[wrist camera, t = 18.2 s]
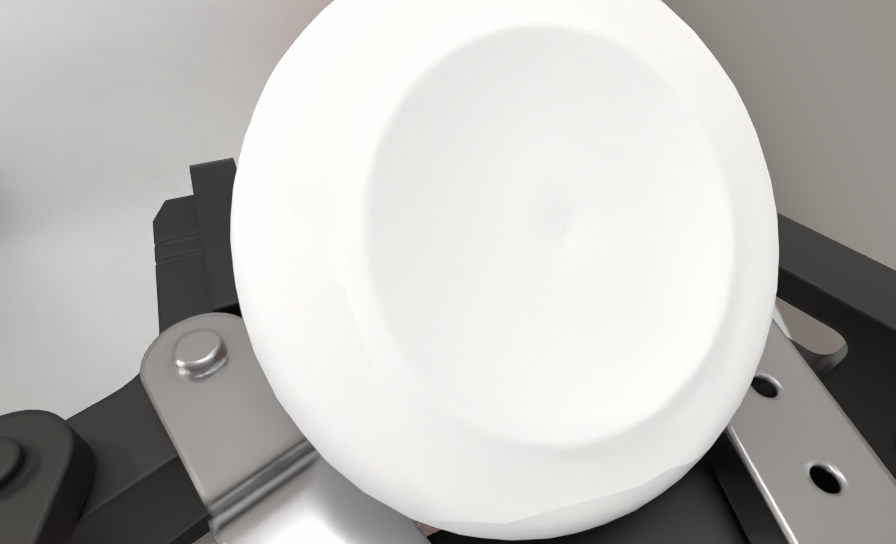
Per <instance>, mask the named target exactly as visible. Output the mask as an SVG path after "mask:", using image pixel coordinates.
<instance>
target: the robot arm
mask: <svg viewBox="0 0 896 544" xmlns="http://www.w3.org/2000/svg"><path fill="white" fill-rule="evenodd" d="M236 171H237V168H236V165H235V161H234V158H228V159H223V160H218V161H212V162H207V163H201V164H196V165H190V174H191V180H192V186H193V193H194V195H190V196H185V197H180V198H175V199H170V200H165V202H164V204H163V205H162V207H161V209H160V210H159V212H158V214H157V215H156V217H155V219H154V221H153V232H154V244H155V247H154V248H155V261H156V264H157V265H156V282H157V299H158V315H159V336H158V337H157V338H156V339H155V340H154V341H153V343H152V344H151V345H150V346H149V348H148V349H147V351H146V353H145V354H144V357H143V359H142V362H141V368H140V373H139V374H138V375H137V376H136V377H135V378H134V379H133V380H131V381H130V382H129V383H127V384H126V385H125V386H124V387H122V388H121V389H119V390H118V391H116V392H114V393H113V394H111V395H109V396H108V397H106V398H104V399H102V400H101V401H99V402H97V403H95V404H93V405H92V406H90V407H88V408H86V409H85V410H83V411H81V412H79V413H77V414H76V415H74V416H72V417H70V418H69V419H67V420H64V419H62V418H61V417H59V416H58V415H56V414H54V413H51V412H48V411H42V410H24V411H17V412H12V413H9V414H5V415H2V416H0V544H169V543H170V542H172V541H173V540H174V539H176V538H177V537H178V536H180V535H181V534H182V533H184V532H185V531H186V530H188V529H189V528H190V527H192V526H193V525H194V524H196V523H197V522H198V521H200V520H201V519H202V518H204V517H205V516H206V515H208V516H209V517H208V518H207V520H208V524H209V527H210V529H211V532H212V534H213V537H214V539H215V541H216V543H217V544H896V271H895V270H893V269H891V268H889V267H887V266H885V265H883V264H881V263H879V262H877V261H875V260H873V259H871V258H869V257H867V256H865V255H862V254H860V253H858V252H856V251H854V250H852V249H850V248H848V247H846V246H844V245H842V244H840V243H838V242H836V241H834V240H832V239H830V238H828V237H826V236H824V235H822V234H820V233H818V232H815V231H813V230H812V229H810V228H807V227H805V226H803V225H801V224H799V223H797V222H795V221H793V220H791V219H789V218H787V217H785V216H783V215H781V214H779V213H777V212H776V213H777V222H778V240H779V264H778V283H777V292H776V296H777V297H779V298H780V299H782V300H784V301H786V302H787V303H789V304H791V305H792V306H794V307H796V308H798V309H799V310H801V311H803V312H805V313H806V314H808V315H810V316H811V317H813V318H815V319H817V320H818V321H820V322H822V323H824V324H825V325H827V326H829V327H830V328H832V329H834V330H835V331H837V332H838V333H839V334H840V335H841V336H842V337H843V338H844V339H845V341H846V343H845V344H844V345H843V346H842V347H841V348H840V349H839V350H838V351H837V352H835V353H833V354H828V355H821V354H817V353H814V352H811V351H809V350H807V349H806V348H804V347H802V346H801V345H799V344H797V343H796V342H794V341H793V340H791V339H789V338H788V337H787V336H786V335H785V334H784V332H783V331H782V330H781V328H780V327H779V326H778V324H777V323H776V322H775V320H774V319H773V318H772V321H771V325H770V329H769V332H768V336H767V340H766V344H765V348H764V351H763V353H762V356H761V359H760V361H759V364H758V367H757V369H756V372H755V374H754V377H753V380H752V382H751V384H750V386H749V388H748V390H747V392H746V394H745V397H744V399H743V401H742V403H741V404H740V406H739V407H738V409H737V410H736V412H735V414H734V415H733V417H732V418H731V420H730V421H729V423H728V424H727V426H726V427H725V429H724V430H723V431H722V433H721V434H720V436H719V437H718V438H717V440H716V441H715V442H714V444H713V445H712V447H711V448H710V449H709V450H708V451H707V452H706V453H705V454H704V456H703V457H702V458H701V459H700V460H699V461H698V462H697V463H696V464H695V465H694V466H693V467H692V468H691V469H690V470H689V471H688V472H687V473H686V474H685V475H684V476H683V477H682V478H681V479H680V480H678V481H677V482H676V483H674V484H673V485H672V486H670V487H669V488H668V489H667V490H665V491H664V492H663V493H661V494H660V495H658V496H657V497H655V498H654V499H652V500H651V501H649V502H648V503H646V504H645V505H643V506H641V507H640V508H638V509H637V510H635V511H633V512H631V513H628V514H626V515H624V516H622V517H619V518H617V519H615V520H613V521H610V522H608V523H606V524H604V525H601V526H597V527H594V528H591V529H588V530H585V531H582V532H578V533H574V534H569V535H564V536H559V537H554V538H547V539H530V540H501V539H490V538H479V537H472V536H466V535H459V534H456V533H453V532H450V531H446V530H443V529H442V530H440V531H438V532H436V533H433V534H431V535H429V536H427V537H426V536H425V535H424V533H423V532H422V531H421V529H420V528H419V527H418V526H417V524H416V523H415V522H414V520H413V519H410V518H408V517H407V516H405V515H403V514H401V513H400V512H398V511H396V510H394V509H393V508H391V507H389V506H387V505H386V504H384V503H382V502H380V501H378V500H377V499H375V498H373V497H371V496H370V495H368V494H366V493H364V492H363V491H362V490H360V489H359V488H358V487H357V486H356V485H354V484H353V483H352V482H351V481H350V480H348V479H347V478H346V477H345V476H344V475H342V474H341V473H340V472H339V471H338V470H336V469H335V468H334V467H333V466H332V465H330V464H329V463H328V462H327V461H326V460H325V459H324V458H323V457H322V456H321V454H320V453H319V452H318V451H317V450H316V448H315V447H314V446H313V445H312V444H311V443H310V441H309V440H308V439H307V438H306V437H305V436H304V434H303V433H302V432H301V431H300V429H299V428H298V427H297V425H296V424H295V422H294V421H293V420H292V418H291V417H290V416H289V414H288V413H287V412H286V410H285V409H284V408H283V406H282V405H281V403H280V402H279V401H278V399H277V398H276V396H275V394H274V392H273V389H272V387H271V385H270V383H269V381H268V379H267V377H266V375H265V373H264V371H263V369H262V367H261V365H260V363H259V361H258V359H257V357H256V355H255V353H254V350H253V347H252V344H251V341H250V338H249V335H248V332H247V329H246V326H245V323H244V319H243V316H242V313H241V309H240V304H239V299H238V295H237V290H236V285H235V278H234V270H233V261H232V251H231V242H230V225H231V207H232V195H233V186H234V181H235V176H236Z"/></svg>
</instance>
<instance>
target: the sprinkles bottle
mask: <svg viewBox="0 0 896 544" xmlns="http://www.w3.org/2000/svg"><path fill="white" fill-rule="evenodd" d="M230 242H231V251H232V261H233V270H234V278H235V285H236V290H237V295H238V299H239V304H240V309H241V313H242V316H243V319H244V323H245V326H246V329H247V332H248V335H249V338H250V341H251V344H252V347H253V350H254V353H255V355H256V357H257V359H258V361H259V363H260V365H261V367H262V369H263V371H264V373H265V375H266V377H267V379H268V381H269V383H270V385H271V387H272V389H273V392H274V394H275V396H276V398H277V399H278V401H279V402H280V403H281V405H282V406H283V408H284V409H285V410H286V412H287V413H288V414H289V416H290V417H291V418H292V420H293V421H294V422H295V424H296V425H297V427H298V428H299V429H300V431H301V432H302V433H303V434H304V436H305V437H306V438H307V439H308V440H309V441H310V443H311V444H312V445H313V446H314V447H315V448H316V450H317V451H318V452H319V453H320V454H321V456H322V457H323V458H324V459H325V460H326V461H327V462H328V463H329V464H330V465H332V466H333V467H334V468H335V469H336V470H338V471H339V472H340V473H341V474H342V475H344V476H345V477H346V478H347V479H348V480H350V481H351V482H352V483H353V484H354V485H356V486H357V487H358V488H359V489H360V490H362V491H363V492H364V493H366V494H368V495H370V496H371V497H373V498H375V499H377V500H378V501H380V502H382V503H384V504H386V505H387V506H389V507H391V508H393V509H394V510H396V511H398V512H400V513H401V514H403V515H405V516H407V517H408V518H410V519H413V520H415V521H418V522H421V523H424V524H427V525H429V526H432V527H435V528H438V529H443V530H446V531H450V532H453V533H456V534H459V535H466V536H472V537H479V538H490V539H501V540H530V539H547V538H554V537H559V536H564V535H569V534H574V533H578V532H582V531H585V530H588V529H591V528H594V527H597V526H601V525H604V524H606V523H608V522H610V521H613V520H615V519H617V518H619V517H622V516H624V515H626V514H628V513H631V512H633V511H635V510H637V509H638V508H640V507H641V506H643V505H645V504H646V503H648V502H649V501H651V500H652V499H654V498H655V497H657V496H658V495H660V494H661V493H663V492H664V491H665V490H667V489H668V488H669V487H670V486H672V485H673V484H674V483H676V482H677V481H678V480H680V479H681V478H682V477H683V476H684V475H685V474H686V473H687V472H688V471H689V470H690V469H691V468H692V467H693V466H694V465H695V464H696V463H697V462H698V461H699V460H700V459H701V458H702V457H703V456H704V454H705V453H706V452H707V451H708V450H709V449H710V448H711V447H712V445H713V444H714V442H715V441H716V440H717V438H718V437H719V436H720V434H721V433H722V431H723V430H724V429H725V427H726V426H727V424H728V423H729V421H730V420H731V418H732V417H733V415H734V414H735V412H736V410H737V409H738V407H739V406H740V404H741V403H742V401H743V399H744V397H745V394H746V392H747V390H748V388H749V386H750V384H751V382H752V380H753V377H754V374H755V372H756V369H757V367H758V364H759V361H760V359H761V356H762V353H763V351H764V348H765V344H766V340H767V336H768V332H769V329H770V325H771V321H772V315H773V309H774V304H775V297H776V292H777V283H778V264H779V240H778V222H777V213H776V207H775V201H774V196H773V191H772V185H771V180H770V176H769V173H768V169H767V166H766V162H765V159H764V156H763V152H762V149H761V146H760V143H759V139H758V136H757V134H756V131H755V129H754V127H753V124H752V122H751V120H750V117H749V115H748V112H747V110H746V108H745V106H744V104H743V102H742V100H741V98H740V96H739V94H738V92H737V90H736V88H735V86H734V84H733V83H732V82H731V80H730V79H729V77H728V76H727V74H726V73H725V71H724V70H723V68H722V67H721V66H720V64H719V63H718V61H717V60H716V58H715V57H714V56H713V55H712V53H711V52H710V51H709V50H708V48H707V47H706V46H705V45H704V43H703V42H702V41H701V40H700V38H699V37H698V36H697V35H696V34H695V32H694V31H693V30H692V29H691V28H690V27H689V26H688V25H687V24H686V23H684V21H682V20H681V19H680V18H679V17H678V16H677V15H676V14H675V13H674V12H673V11H672V10H671V9H670V8H669V7H668V6H666V4H664V3H663V2H662V1H660V0H335V1H333V2H332V3H331V4H330V5H328V6H327V7H326V8H325V9H324V10H323V11H322V12H321V13H320V14H319V15H318V16H317V17H316V18H315V19H314V20H313V21H312V22H311V23H310V24H309V26H308V27H307V28H306V29H305V30H304V31H303V32H302V33H301V34H300V36H299V37H298V38H297V39H296V40H295V42H294V43H293V44H292V46H291V47H290V48H289V50H288V51H287V52H286V53H285V55H284V56H283V57H282V59H281V60H280V61H279V63H278V64H277V66H276V68H275V69H274V71H273V73H272V74H271V76H270V77H269V79H268V82H267V84H266V86H265V88H264V90H263V92H262V94H261V97H260V99H259V101H258V103H257V105H256V108H255V111H254V114H253V116H252V119H251V122H250V124H249V127H248V130H247V133H246V135H245V138H244V141H243V145H242V150H241V154H240V158H239V163H238V167H237V171H236V176H235V181H234V186H233V195H232V207H231V225H230Z"/></svg>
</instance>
